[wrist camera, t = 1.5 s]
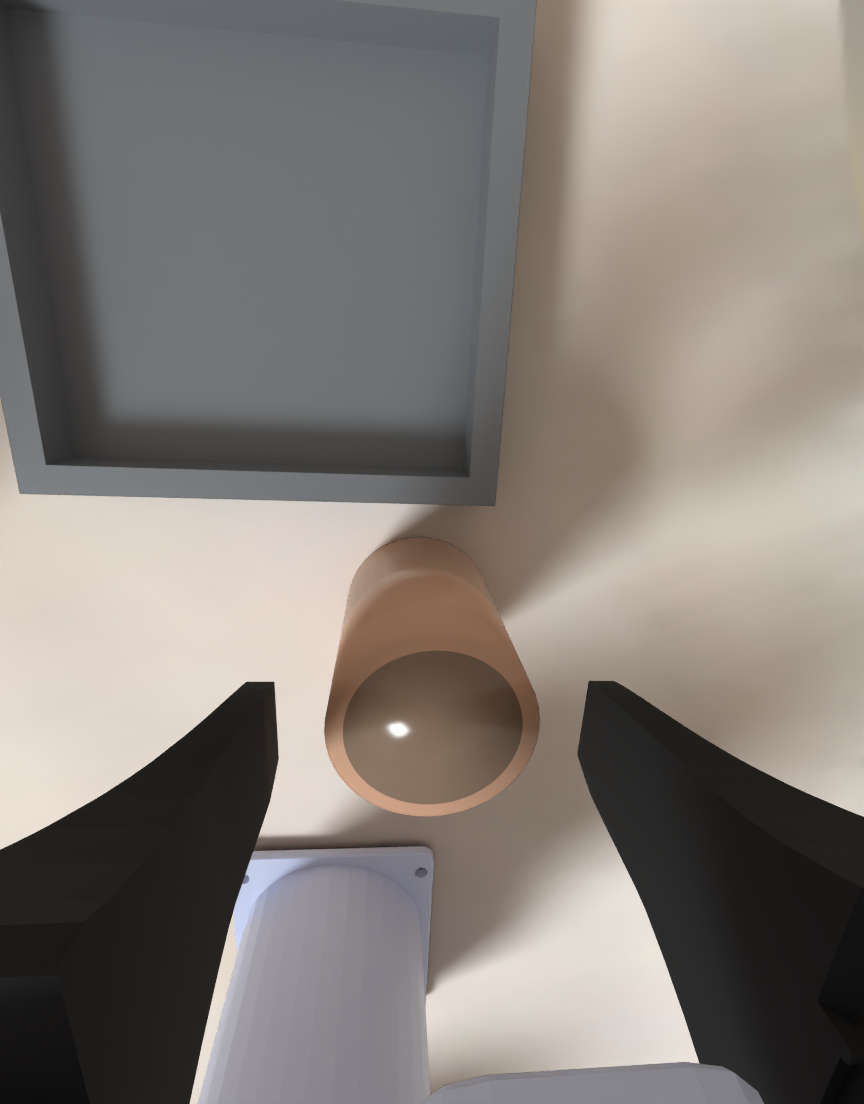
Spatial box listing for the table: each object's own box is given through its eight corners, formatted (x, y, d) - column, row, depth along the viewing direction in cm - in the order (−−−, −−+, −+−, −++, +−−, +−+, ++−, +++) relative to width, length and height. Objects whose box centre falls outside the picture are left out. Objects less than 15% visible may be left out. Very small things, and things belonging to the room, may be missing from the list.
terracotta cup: (481, 664, 20) (528, 815, 13) (348, 664, 19) (325, 820, 12) (491, 538, 18) (551, 635, 11) (347, 535, 18) (321, 633, 11)
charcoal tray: (483, 491, 17) (495, 506, 16) (62, 479, 16) (20, 493, 14) (517, 30, 14) (538, -25, 12) (-25, -25, 13) (-97, -96, 11)
